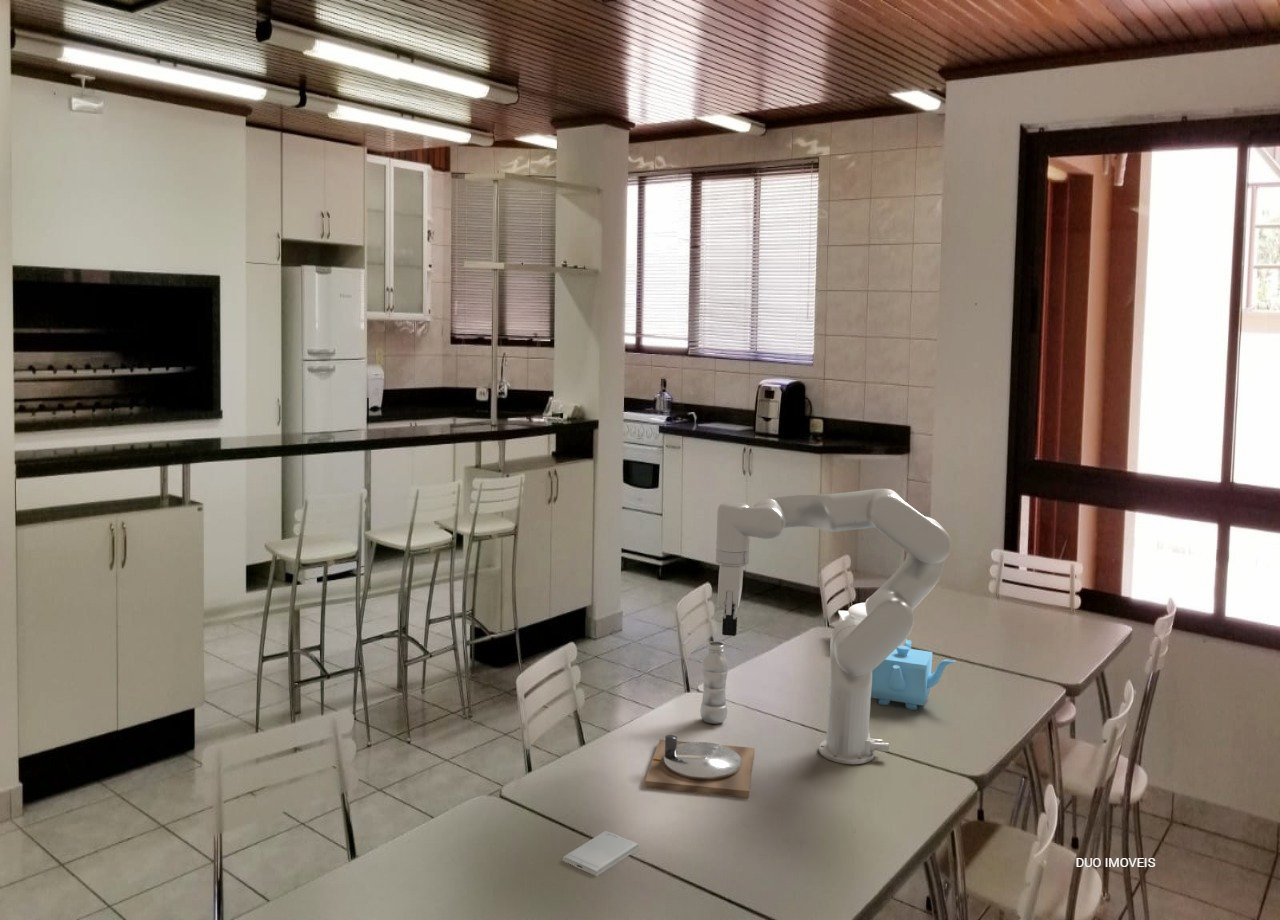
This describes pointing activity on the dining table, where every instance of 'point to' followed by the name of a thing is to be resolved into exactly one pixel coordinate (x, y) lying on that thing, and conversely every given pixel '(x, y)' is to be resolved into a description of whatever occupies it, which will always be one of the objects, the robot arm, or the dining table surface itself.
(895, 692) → the teakettle
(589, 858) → the hard drive
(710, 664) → the plastic bottle
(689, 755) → the dial
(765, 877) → the dining table surface
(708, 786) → the dial base
